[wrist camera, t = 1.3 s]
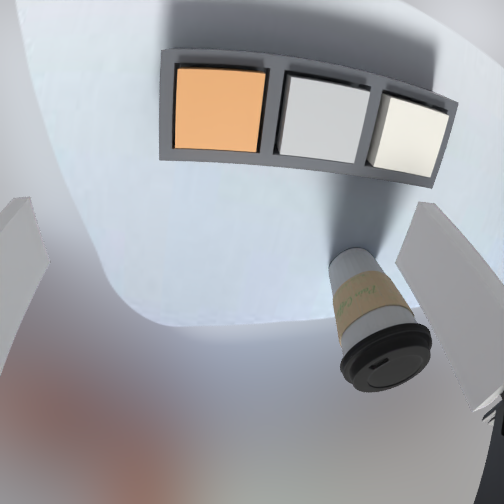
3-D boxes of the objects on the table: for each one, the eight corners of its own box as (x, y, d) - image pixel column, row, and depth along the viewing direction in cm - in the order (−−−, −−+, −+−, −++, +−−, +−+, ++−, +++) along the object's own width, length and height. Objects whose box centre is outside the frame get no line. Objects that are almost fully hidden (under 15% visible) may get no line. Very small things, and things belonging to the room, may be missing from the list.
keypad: (432, 91, 25) (458, 102, 21) (411, 168, 30) (432, 188, 26) (172, 48, 22) (161, 50, 19) (169, 142, 27) (159, 160, 24)
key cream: (436, 109, 23) (449, 115, 21) (419, 168, 26) (430, 177, 25) (380, 92, 22) (390, 97, 21) (365, 157, 26) (373, 166, 24)
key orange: (262, 71, 21) (265, 73, 19) (254, 143, 25) (255, 152, 23) (181, 66, 20) (177, 69, 19) (178, 139, 24) (175, 147, 22)
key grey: (360, 87, 22) (370, 92, 20) (346, 154, 26) (353, 163, 24) (286, 74, 21) (291, 77, 20) (276, 145, 25) (279, 154, 23)
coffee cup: (333, 227, 34) (379, 338, 22) (399, 243, 36) (455, 341, 24) (303, 289, 40) (327, 397, 28) (365, 298, 42) (401, 394, 30)
